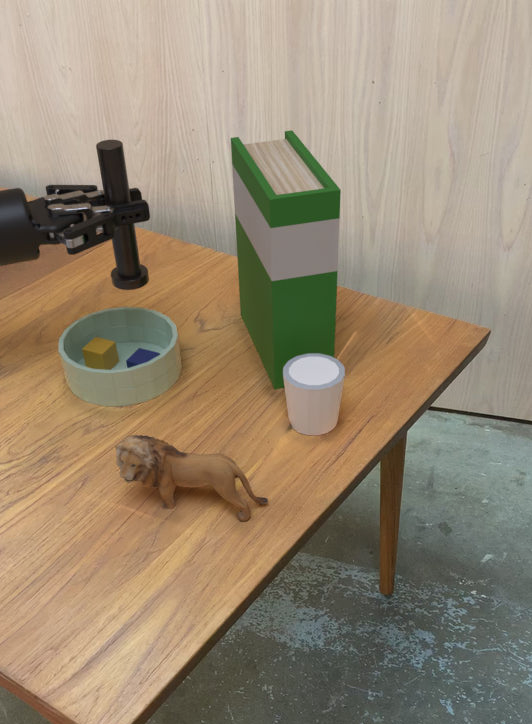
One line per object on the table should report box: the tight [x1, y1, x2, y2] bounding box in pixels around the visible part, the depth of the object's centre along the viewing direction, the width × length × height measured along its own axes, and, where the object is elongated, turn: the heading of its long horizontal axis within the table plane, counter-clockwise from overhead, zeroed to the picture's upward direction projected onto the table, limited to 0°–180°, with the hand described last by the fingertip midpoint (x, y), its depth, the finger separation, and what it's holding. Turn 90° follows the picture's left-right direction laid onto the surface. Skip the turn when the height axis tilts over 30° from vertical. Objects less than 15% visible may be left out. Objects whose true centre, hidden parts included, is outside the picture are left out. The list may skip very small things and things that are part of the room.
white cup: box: [283, 353, 346, 436], centre depth 88 cm, size 7×7×7 cm
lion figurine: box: [114, 434, 269, 522], centre depth 77 cm, size 15×5×9 cm, turn 90°
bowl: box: [58, 306, 183, 408], centre depth 96 cm, size 14×14×6 cm
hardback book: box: [230, 129, 342, 390], centre depth 92 cm, size 18×7×24 cm, turn 15°
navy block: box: [126, 348, 160, 368], centre depth 95 cm, size 3×3×3 cm
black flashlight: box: [95, 139, 150, 291], centre depth 88 cm, size 4×4×16 cm
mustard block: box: [82, 337, 119, 370], centre depth 97 cm, size 3×3×3 cm
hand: (144, 203), depth 88 cm, fingers closed on black flashlight, 3 cm apart
